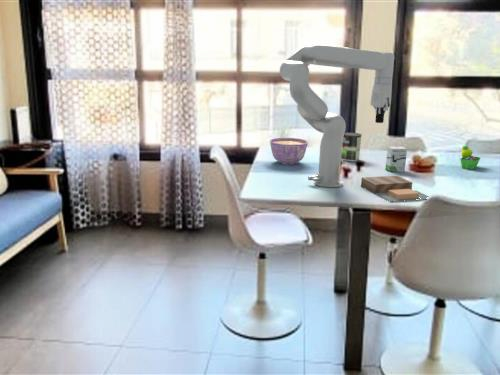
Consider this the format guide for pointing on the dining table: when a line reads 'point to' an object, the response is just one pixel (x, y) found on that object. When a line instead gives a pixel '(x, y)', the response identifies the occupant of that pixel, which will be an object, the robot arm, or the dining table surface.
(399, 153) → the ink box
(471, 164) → the fruit basket
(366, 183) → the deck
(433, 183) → the dining table surface
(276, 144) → the bowl of food
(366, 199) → the dining table surface
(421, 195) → the mat
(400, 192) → the tile
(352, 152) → the coffee can
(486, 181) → the dining table surface
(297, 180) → the dining table surface
